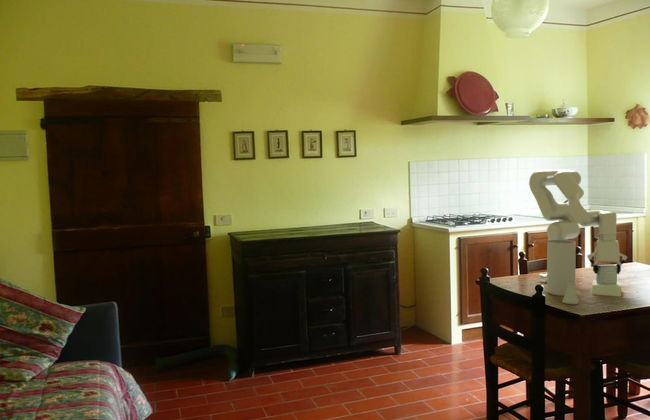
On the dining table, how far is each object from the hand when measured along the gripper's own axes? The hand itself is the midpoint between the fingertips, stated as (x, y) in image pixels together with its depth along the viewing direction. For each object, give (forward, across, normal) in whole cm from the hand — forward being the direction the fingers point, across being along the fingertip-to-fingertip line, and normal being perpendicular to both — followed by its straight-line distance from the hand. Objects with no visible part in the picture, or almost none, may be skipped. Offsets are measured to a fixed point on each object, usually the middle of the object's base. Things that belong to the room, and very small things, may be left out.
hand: (606, 273), depth 270 cm
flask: (+10, -20, -22) cm, 31 cm away
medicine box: (+5, 0, 0) cm, 5 cm away
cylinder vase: (+10, -21, -4) cm, 23 cm away
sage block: (+10, 0, 0) cm, 10 cm away
